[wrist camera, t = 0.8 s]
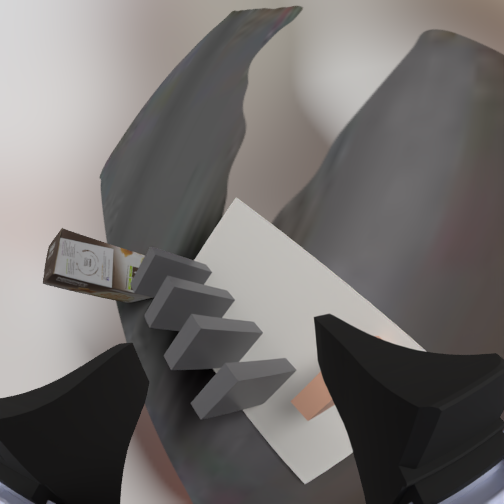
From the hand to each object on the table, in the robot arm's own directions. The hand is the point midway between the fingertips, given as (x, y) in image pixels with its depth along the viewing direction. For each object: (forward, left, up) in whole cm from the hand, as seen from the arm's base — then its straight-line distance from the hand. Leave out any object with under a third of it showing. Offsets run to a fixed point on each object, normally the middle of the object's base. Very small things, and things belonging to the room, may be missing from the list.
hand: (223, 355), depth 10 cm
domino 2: (+13, +7, -14) cm, 20 cm away
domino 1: (+18, +7, -14) cm, 24 cm away
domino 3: (+8, +7, -14) cm, 17 cm away
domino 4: (+3, +7, -14) cm, 16 cm away
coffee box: (+29, +16, -15) cm, 37 cm away
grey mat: (+7, +4, -15) cm, 17 cm away
